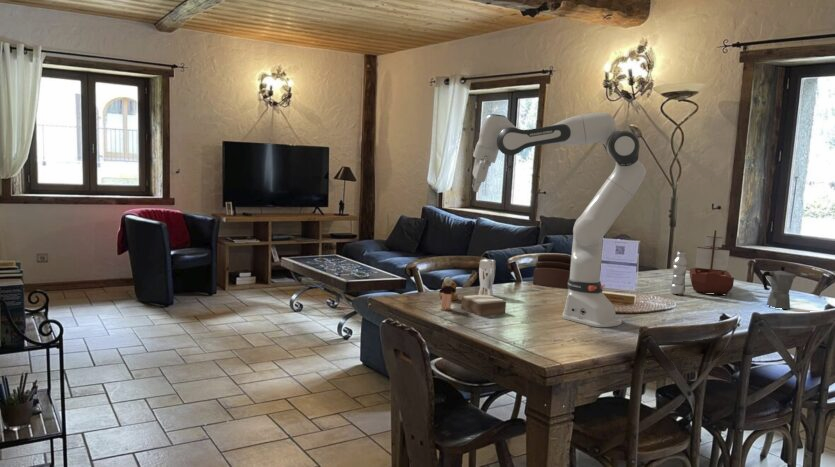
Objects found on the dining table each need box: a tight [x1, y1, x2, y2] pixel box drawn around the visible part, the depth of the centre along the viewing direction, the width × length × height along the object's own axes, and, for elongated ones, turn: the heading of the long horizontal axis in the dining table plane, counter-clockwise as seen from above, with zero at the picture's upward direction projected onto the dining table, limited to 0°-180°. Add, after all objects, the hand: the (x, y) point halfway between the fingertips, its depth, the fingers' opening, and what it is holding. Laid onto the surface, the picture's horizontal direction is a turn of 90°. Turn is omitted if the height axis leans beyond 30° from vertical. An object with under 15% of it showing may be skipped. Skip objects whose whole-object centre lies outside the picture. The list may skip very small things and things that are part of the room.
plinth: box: [460, 294, 507, 317], centre depth 245 cm, size 12×12×5 cm
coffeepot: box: [761, 266, 798, 310], centre depth 277 cm, size 15×9×18 cm, turn 92°
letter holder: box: [532, 254, 571, 289], centre depth 304 cm, size 10×20×14 cm, turn 69°
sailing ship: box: [689, 229, 735, 295], centre depth 312 cm, size 18×40×29 cm, turn 159°
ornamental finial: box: [439, 281, 459, 302], centre depth 263 cm, size 8×8×8 cm
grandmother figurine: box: [437, 276, 458, 311], centre depth 245 cm, size 8×4×13 cm, turn 117°
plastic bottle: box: [670, 250, 689, 296], centre depth 295 cm, size 6×7×20 cm
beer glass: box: [478, 258, 496, 297], centre depth 274 cm, size 7×7×15 cm
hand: (474, 190), depth 248 cm, fingers open, 8 cm apart
